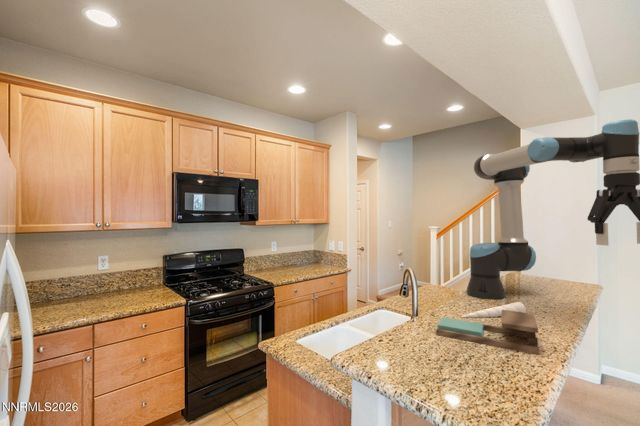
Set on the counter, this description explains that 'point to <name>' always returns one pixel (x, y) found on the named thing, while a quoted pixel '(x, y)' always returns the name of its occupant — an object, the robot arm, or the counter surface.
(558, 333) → the counter surface
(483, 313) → the unicorn horn
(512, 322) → the overhang
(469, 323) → the tile
